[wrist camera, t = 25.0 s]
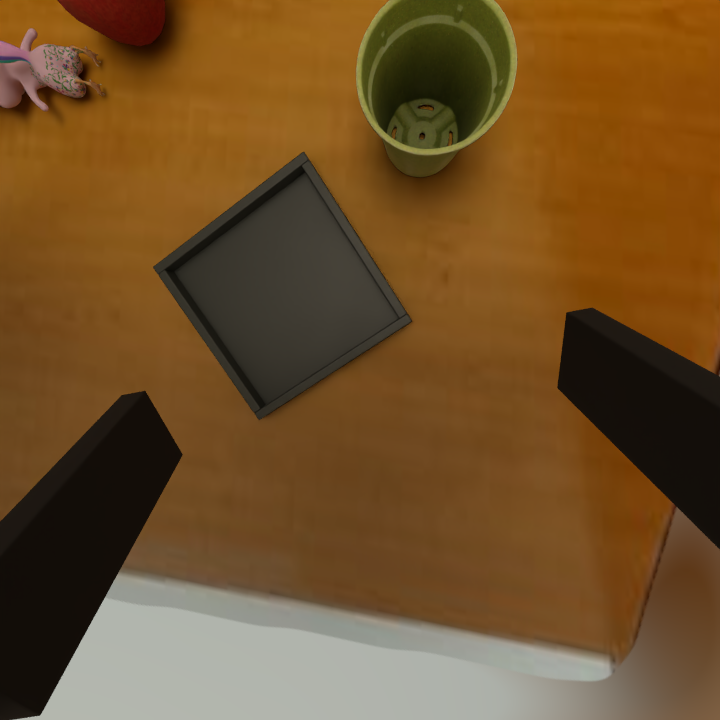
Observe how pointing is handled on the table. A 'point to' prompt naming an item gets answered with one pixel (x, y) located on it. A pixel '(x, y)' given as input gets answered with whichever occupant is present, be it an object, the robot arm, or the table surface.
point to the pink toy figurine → (41, 71)
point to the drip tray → (282, 288)
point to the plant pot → (435, 77)
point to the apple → (121, 18)
